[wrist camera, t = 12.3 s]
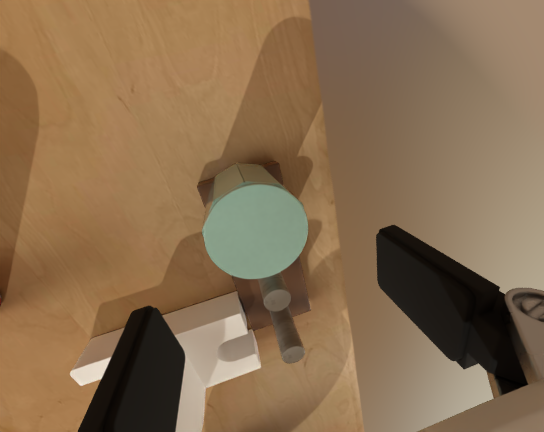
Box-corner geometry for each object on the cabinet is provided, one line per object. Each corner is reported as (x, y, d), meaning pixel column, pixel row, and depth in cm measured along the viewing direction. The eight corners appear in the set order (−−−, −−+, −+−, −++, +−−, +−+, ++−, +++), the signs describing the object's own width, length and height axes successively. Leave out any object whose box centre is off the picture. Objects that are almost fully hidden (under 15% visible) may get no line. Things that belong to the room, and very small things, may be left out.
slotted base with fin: (237, 290, 28) (247, 383, 18) (256, 341, 32) (273, 441, 22) (86, 339, 26) (2, 475, 16) (127, 388, 30) (80, 520, 20)
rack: (198, 182, 22) (187, 210, 15) (275, 160, 23) (300, 177, 16) (251, 322, 30) (261, 384, 23) (307, 302, 31) (333, 356, 24)
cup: (239, 146, 20) (251, 158, 13) (294, 195, 23) (329, 227, 16) (192, 204, 21) (178, 245, 14) (251, 243, 24) (264, 295, 17)
